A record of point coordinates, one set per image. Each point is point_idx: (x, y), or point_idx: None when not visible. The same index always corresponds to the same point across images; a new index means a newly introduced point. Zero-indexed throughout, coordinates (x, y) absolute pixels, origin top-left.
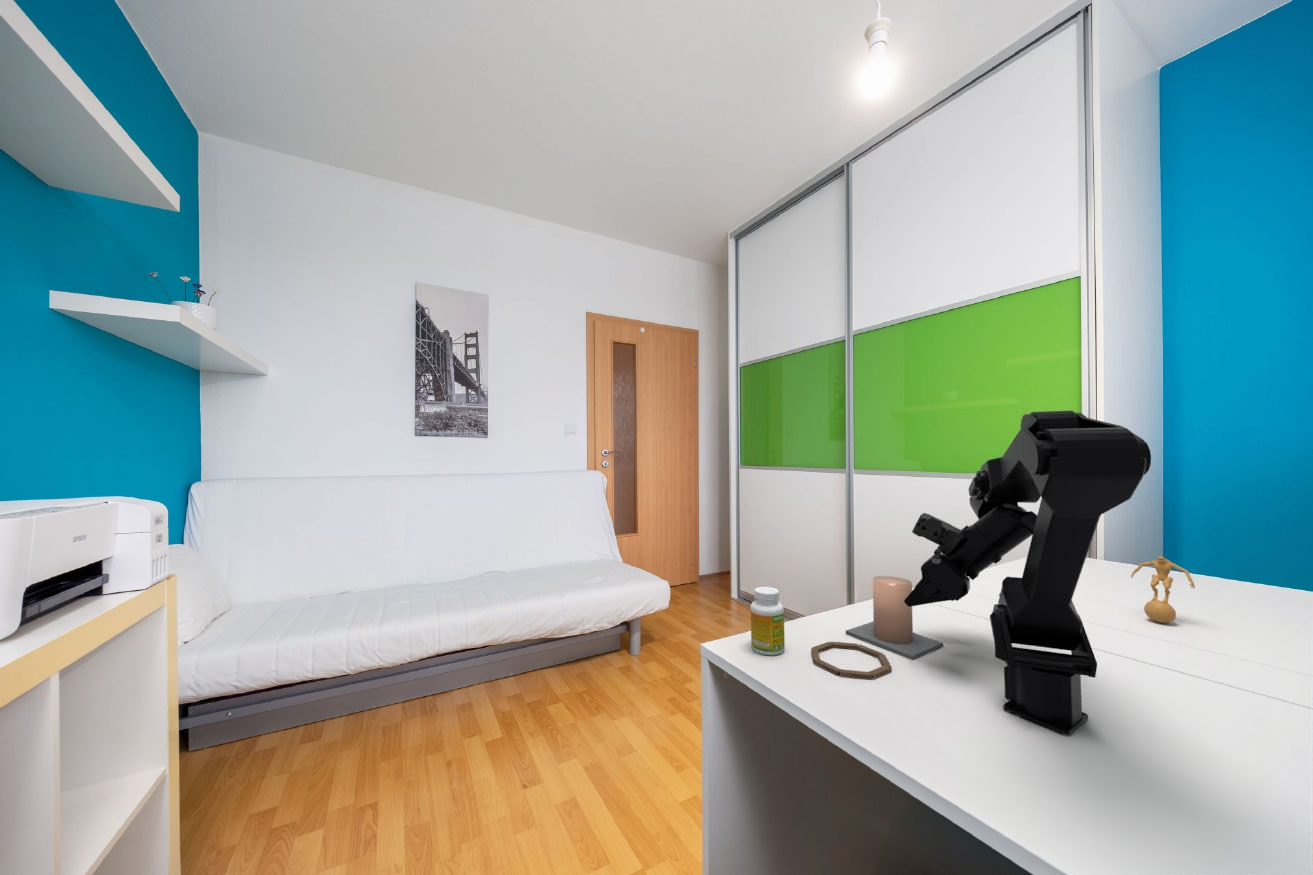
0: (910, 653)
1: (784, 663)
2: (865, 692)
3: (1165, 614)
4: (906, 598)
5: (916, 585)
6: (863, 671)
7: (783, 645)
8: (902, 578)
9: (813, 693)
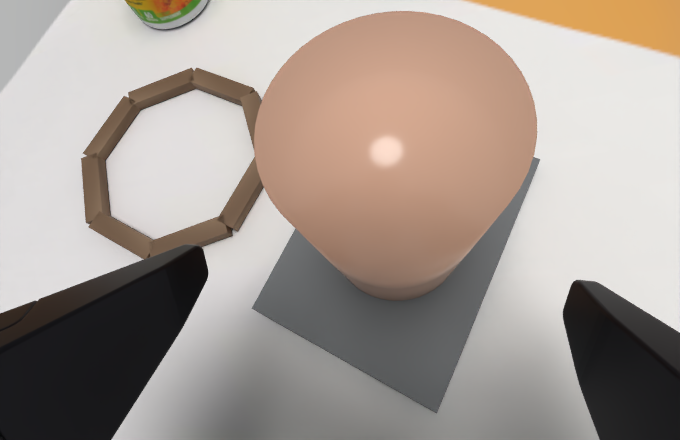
0: (270, 301)
1: (117, 52)
2: (33, 224)
3: None
4: (161, 254)
5: (579, 290)
6: (100, 202)
7: (156, 16)
8: (520, 175)
9: (7, 139)
